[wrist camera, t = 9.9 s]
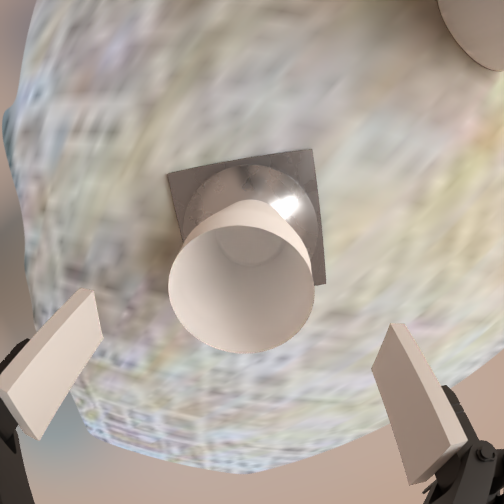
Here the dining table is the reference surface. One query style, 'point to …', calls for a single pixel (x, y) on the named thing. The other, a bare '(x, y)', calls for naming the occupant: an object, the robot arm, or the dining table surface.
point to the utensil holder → (477, 29)
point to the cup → (242, 280)
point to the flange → (256, 195)
